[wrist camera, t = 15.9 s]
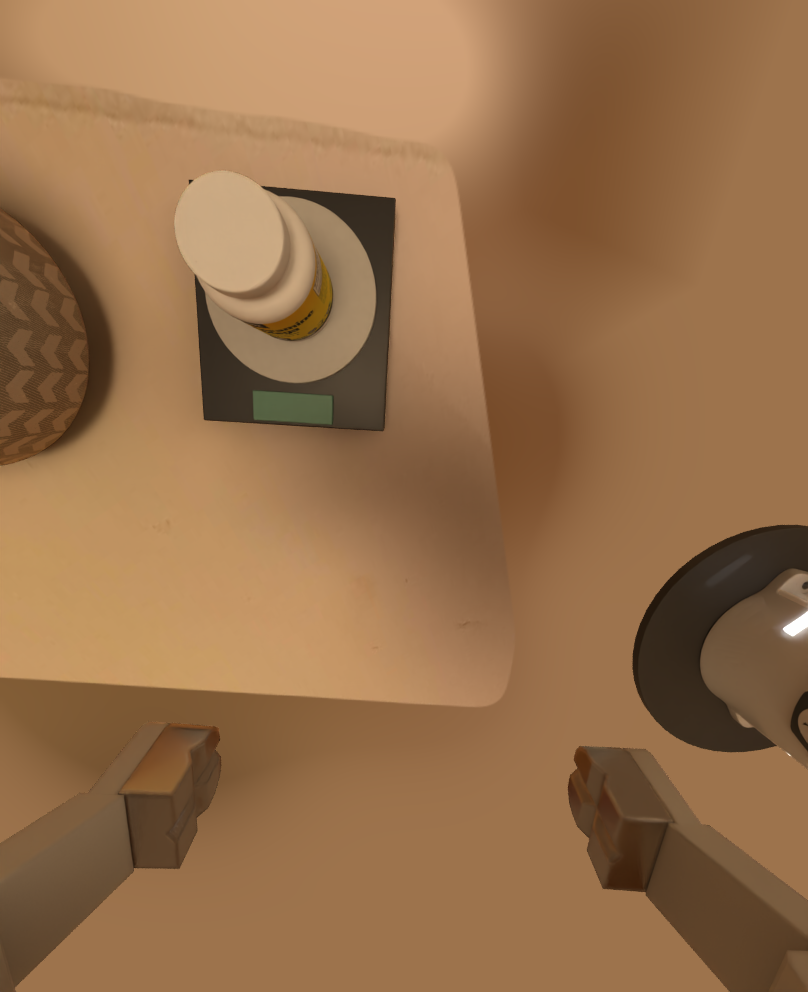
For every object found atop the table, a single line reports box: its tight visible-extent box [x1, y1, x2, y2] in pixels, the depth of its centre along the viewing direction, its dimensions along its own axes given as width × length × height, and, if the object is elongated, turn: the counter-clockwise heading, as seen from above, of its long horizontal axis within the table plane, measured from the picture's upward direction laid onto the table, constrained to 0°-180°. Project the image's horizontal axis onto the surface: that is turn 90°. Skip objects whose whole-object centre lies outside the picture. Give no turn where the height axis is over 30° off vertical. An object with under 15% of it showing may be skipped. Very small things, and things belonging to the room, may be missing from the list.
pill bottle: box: [174, 171, 334, 341], centre depth 22 cm, size 6×6×11 cm
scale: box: [189, 180, 396, 431], centre depth 29 cm, size 14×16×3 cm
